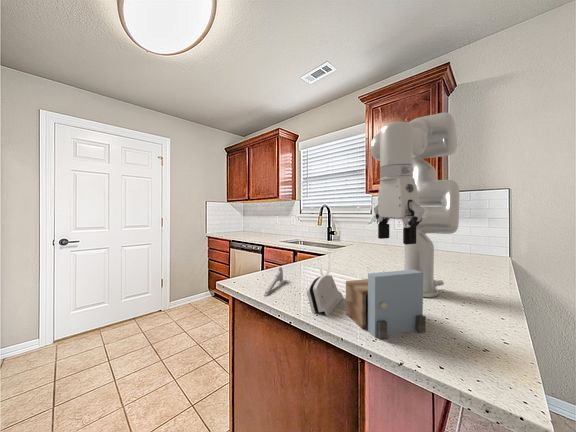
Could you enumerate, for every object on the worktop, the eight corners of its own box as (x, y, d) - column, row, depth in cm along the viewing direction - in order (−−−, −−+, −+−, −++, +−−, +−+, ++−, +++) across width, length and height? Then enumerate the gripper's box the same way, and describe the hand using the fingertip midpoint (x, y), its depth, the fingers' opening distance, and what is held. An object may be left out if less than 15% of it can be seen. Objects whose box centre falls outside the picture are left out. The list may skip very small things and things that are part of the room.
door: (367, 331, 61) (368, 273, 61) (413, 324, 65) (414, 269, 64) (377, 340, 57) (378, 278, 57) (426, 332, 61) (426, 273, 60)
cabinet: (345, 314, 71) (345, 281, 71) (392, 308, 75) (392, 276, 74) (374, 340, 57) (374, 299, 57) (430, 331, 61) (430, 292, 60)
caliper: (280, 280, 106) (280, 266, 106) (283, 280, 106) (282, 266, 105) (263, 296, 86) (263, 279, 86) (266, 297, 86) (266, 280, 86)
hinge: (327, 316, 70) (316, 282, 71) (313, 318, 72) (302, 286, 73) (343, 297, 84) (334, 269, 86) (331, 299, 86) (322, 272, 88)
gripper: (436, 169, 53) (436, 245, 54) (386, 177, 70) (386, 235, 71) (408, 168, 51) (407, 247, 52) (363, 177, 68) (364, 237, 69)
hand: (395, 240), depth 61 cm, fingers open, 9 cm apart
